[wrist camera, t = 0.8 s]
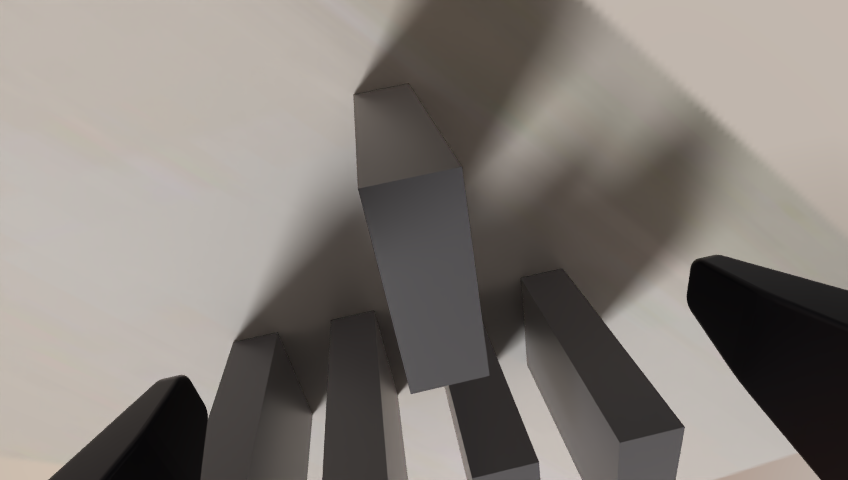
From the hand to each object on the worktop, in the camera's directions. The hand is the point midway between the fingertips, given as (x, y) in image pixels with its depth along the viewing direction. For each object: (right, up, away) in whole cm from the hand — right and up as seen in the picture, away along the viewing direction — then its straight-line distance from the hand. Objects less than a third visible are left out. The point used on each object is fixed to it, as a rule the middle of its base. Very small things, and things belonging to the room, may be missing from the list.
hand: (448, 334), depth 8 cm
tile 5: (-7, -4, +12) cm, 14 cm away
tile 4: (-3, -4, +12) cm, 13 cm away
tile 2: (+5, -2, +12) cm, 13 cm away
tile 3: (+1, -3, +12) cm, 12 cm away
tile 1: (-1, +4, +8) cm, 9 cm away
